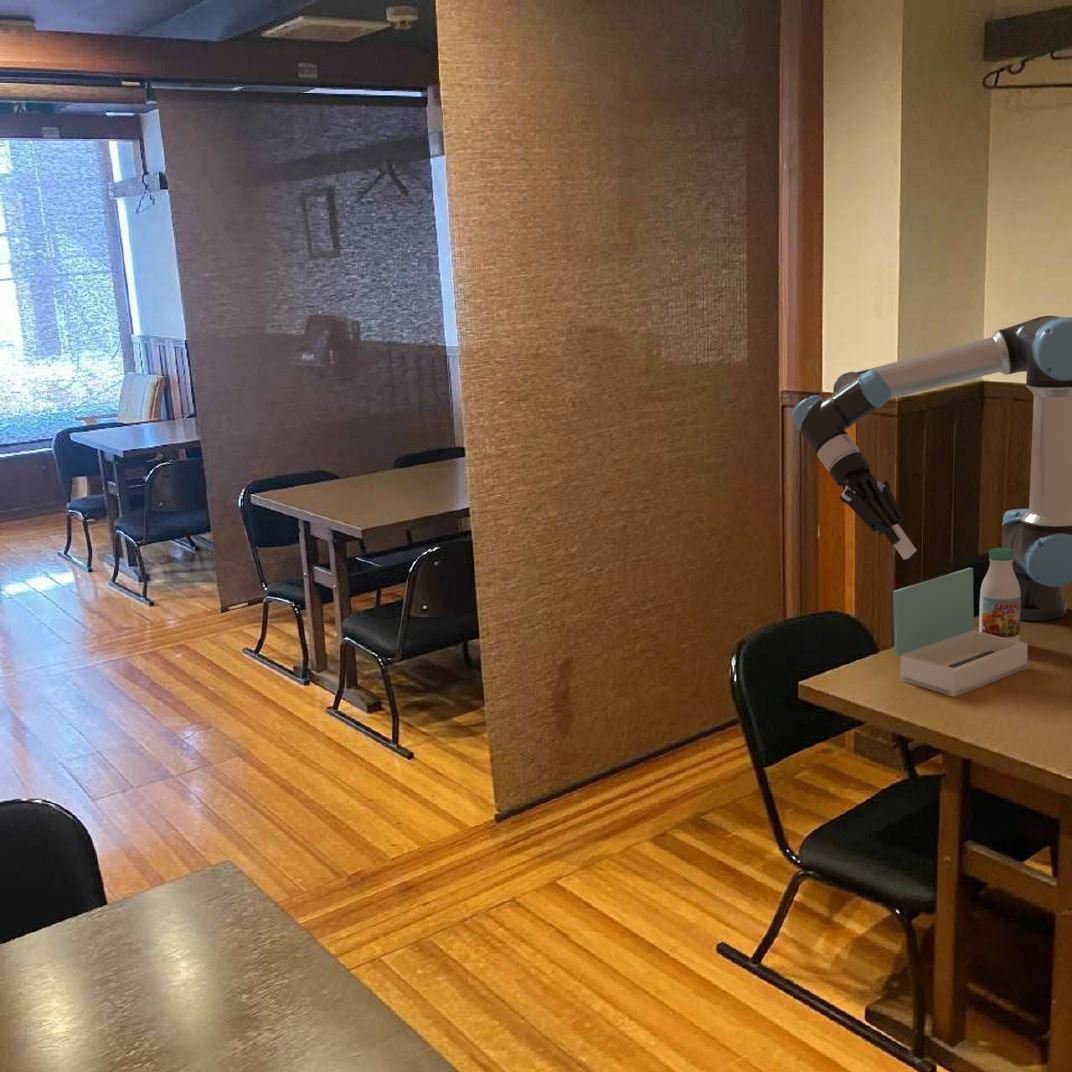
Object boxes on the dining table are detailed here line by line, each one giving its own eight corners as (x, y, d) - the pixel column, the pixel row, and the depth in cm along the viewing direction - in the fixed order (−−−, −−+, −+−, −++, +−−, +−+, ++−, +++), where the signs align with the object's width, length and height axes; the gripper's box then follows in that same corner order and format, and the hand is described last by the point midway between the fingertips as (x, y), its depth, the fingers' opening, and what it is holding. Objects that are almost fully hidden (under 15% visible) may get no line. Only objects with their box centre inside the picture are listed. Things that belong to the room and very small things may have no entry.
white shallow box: (972, 653, 230) (973, 630, 229) (1026, 668, 221) (1027, 643, 219) (900, 680, 219) (900, 655, 218) (954, 697, 209) (954, 671, 208)
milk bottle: (970, 643, 237) (972, 549, 232) (998, 636, 240) (1000, 543, 235) (999, 653, 230) (1002, 556, 225) (1027, 646, 233) (1031, 550, 228)
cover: (973, 629, 230) (970, 628, 230) (973, 568, 227) (969, 567, 228) (898, 656, 217) (894, 655, 218) (896, 591, 215) (893, 591, 216)
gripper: (855, 469, 241) (920, 559, 231) (812, 477, 234) (876, 571, 224) (876, 446, 235) (943, 538, 225) (832, 454, 228) (899, 549, 218)
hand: (910, 554), depth 225 cm, fingers closed
